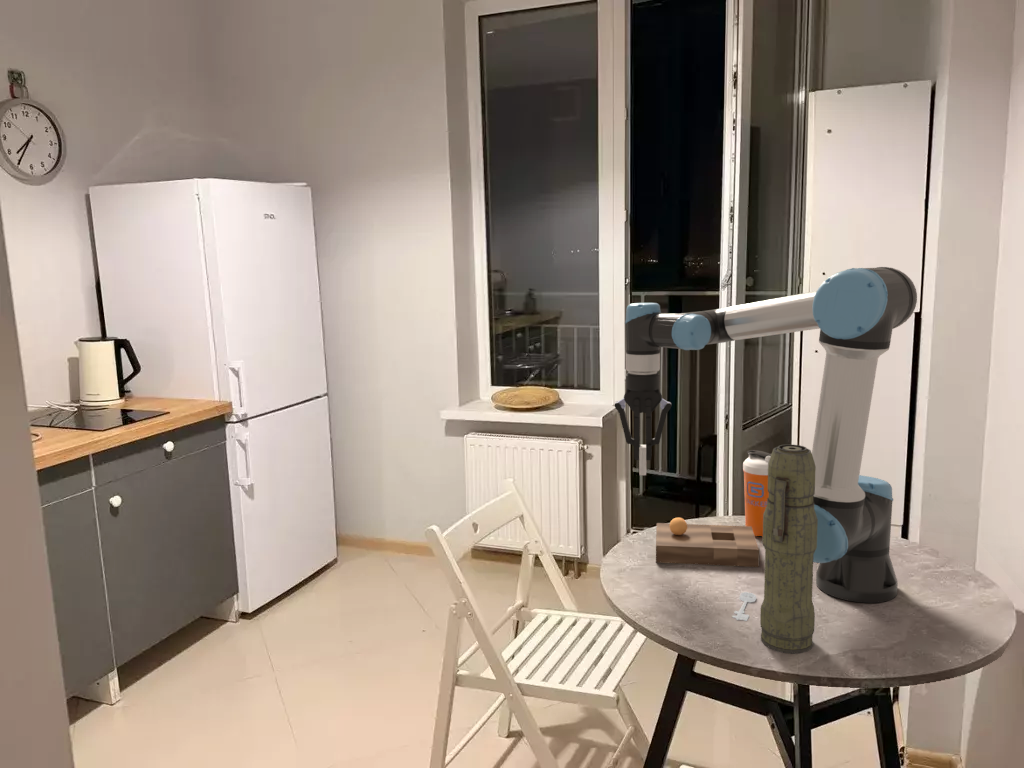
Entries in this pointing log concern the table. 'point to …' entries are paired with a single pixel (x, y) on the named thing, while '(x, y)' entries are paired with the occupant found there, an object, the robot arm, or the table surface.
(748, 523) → the shaker bottle
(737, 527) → the board
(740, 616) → the key
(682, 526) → the ball
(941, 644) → the table surface
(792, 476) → the thermos
